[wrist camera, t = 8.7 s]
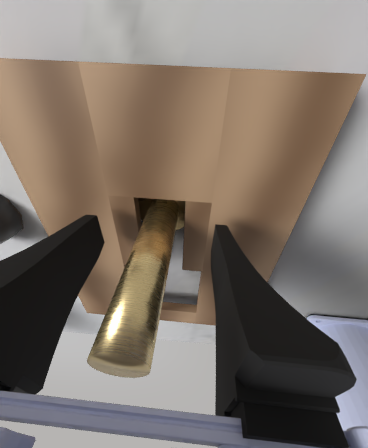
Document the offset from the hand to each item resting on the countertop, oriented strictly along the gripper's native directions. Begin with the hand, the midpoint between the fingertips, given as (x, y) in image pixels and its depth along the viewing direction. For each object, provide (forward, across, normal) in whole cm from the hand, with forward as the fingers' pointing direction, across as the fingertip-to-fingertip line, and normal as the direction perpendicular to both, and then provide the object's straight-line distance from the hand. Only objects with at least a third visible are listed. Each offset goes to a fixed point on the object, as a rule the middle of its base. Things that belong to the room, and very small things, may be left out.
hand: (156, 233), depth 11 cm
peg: (+4, 0, 0) cm, 4 cm away
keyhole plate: (+4, 0, +2) cm, 4 cm away
